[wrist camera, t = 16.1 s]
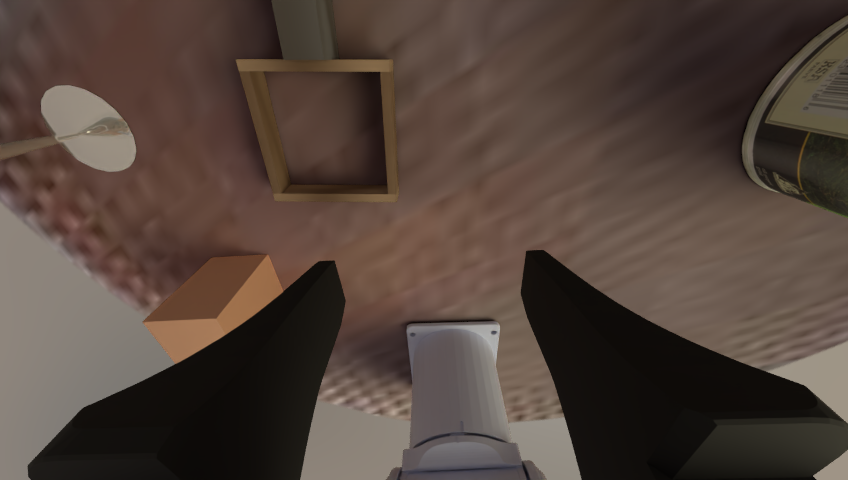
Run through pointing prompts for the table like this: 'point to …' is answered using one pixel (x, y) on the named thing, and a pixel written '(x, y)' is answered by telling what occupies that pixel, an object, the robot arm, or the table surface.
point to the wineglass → (81, 130)
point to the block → (213, 303)
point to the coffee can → (805, 125)
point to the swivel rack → (314, 52)
